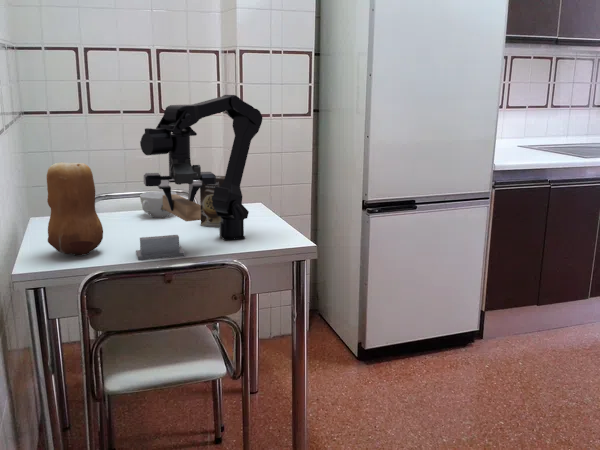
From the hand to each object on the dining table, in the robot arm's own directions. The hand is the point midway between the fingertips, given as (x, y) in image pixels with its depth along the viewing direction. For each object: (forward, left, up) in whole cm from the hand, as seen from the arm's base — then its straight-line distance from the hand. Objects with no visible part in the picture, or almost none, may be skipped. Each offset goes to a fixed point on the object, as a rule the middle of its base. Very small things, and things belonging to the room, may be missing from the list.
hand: (180, 210), depth 157 cm
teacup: (+1, -44, -12) cm, 45 cm away
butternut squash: (+27, -5, -12) cm, 30 cm away
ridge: (+6, +3, -11) cm, 13 cm away
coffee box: (-16, -26, -12) cm, 32 cm away
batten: (0, 0, -1) cm, 1 cm away
